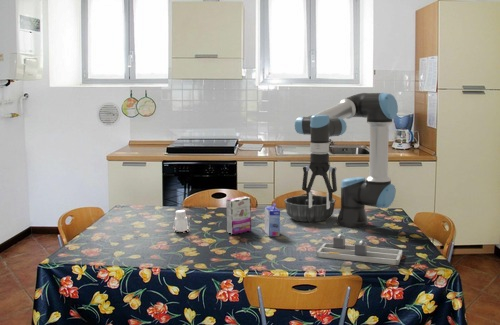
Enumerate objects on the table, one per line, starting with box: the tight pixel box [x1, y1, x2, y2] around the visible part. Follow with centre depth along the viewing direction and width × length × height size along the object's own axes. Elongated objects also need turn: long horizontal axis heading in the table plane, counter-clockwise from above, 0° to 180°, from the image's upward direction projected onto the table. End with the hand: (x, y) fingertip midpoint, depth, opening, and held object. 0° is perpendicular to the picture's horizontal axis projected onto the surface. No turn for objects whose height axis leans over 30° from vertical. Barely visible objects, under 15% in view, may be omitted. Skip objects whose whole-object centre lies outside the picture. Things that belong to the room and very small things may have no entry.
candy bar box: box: [225, 196, 252, 235], centre depth 269 cm, size 11×5×16 cm, turn 126°
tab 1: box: [332, 233, 346, 249], centre depth 234 cm, size 4×4×7 cm
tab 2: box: [354, 240, 368, 256], centre depth 225 cm, size 4×4×7 cm
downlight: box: [172, 209, 191, 231], centre depth 273 cm, size 8×7×10 cm
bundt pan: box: [283, 194, 337, 223], centre depth 294 cm, size 26×26×10 cm
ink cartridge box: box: [263, 202, 281, 237], centre depth 265 cm, size 10×6×14 cm, turn 11°
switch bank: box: [315, 242, 403, 266], centre depth 228 cm, size 14×32×4 cm, turn 69°
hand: (319, 207), depth 235 cm, fingers open, 7 cm apart
